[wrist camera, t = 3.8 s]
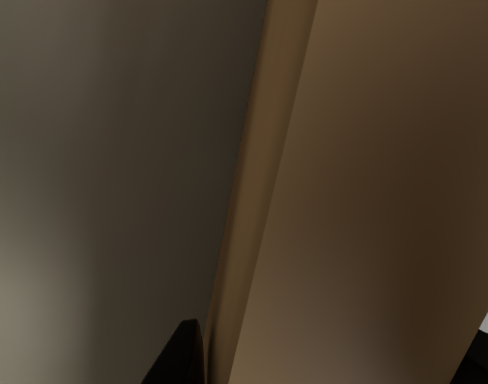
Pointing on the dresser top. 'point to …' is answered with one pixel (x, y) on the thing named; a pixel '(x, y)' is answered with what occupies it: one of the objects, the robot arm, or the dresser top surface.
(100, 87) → the dresser top surface
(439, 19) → the plank
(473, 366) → the robot arm
